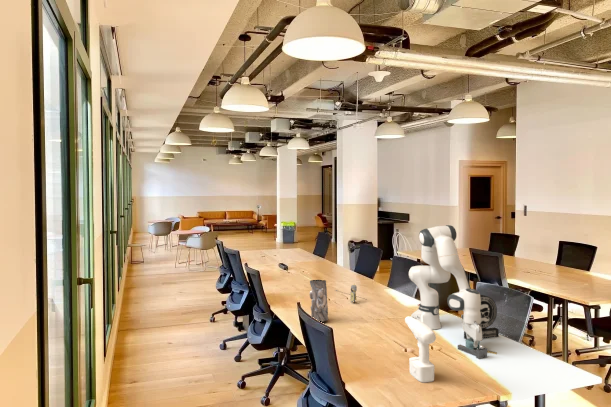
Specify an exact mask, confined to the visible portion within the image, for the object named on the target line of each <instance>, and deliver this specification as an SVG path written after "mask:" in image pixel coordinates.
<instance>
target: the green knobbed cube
mask: <svg viewBox="0 0 611 407" xmlns="http://www.w3.org/2000/svg"><path fill="white" fill-rule="evenodd" d="M473 343H474V339H473V338H470V339H465V346H466V347H468V348H471V349H474V346H473ZM477 348H478V349H480V341H479V342H478V347H477ZM477 348H476V349H477ZM474 350H475V349H474Z"/></svg>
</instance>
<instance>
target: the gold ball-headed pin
mask: <svg viewBox="0 0 611 407" xmlns="http://www.w3.org/2000/svg"><path fill="white" fill-rule="evenodd" d="M487 354H494V355H497V354H498V352H496V351H491V350H488V349H487Z"/></svg>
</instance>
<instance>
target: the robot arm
mask: <svg viewBox="0 0 611 407" xmlns="http://www.w3.org/2000/svg"><path fill="white" fill-rule="evenodd" d="M418 239H419V242H420V244H421V252H420V257H421V260H422V261H423V262H424V263H425V264H428V265H419V264H418V265H415V266H414V265H413V266H411V267H410V269H409V271H408V278H409V280H410V281H411V282H412V283H414V285H416V287H417V289H418V291H419V296H420V303H418V304H417V307H418V308H417V310H415V311H414V312H412V314H410V315H411V316H410V317H413V318H414V319H417V320H418V321H420V322H423V323H424V324H426V325H427V326H428V327H429V328H430V329H431V330H439V329H441V328H442V324H441V317H440V304H439V292H438V291H437V290H436V288H435V289H434V288H432V287H430V285H429V284H443V283H444V284H445V283H448V282H449V281H450V279H451V274H452V275H453V277H454V278H455V280H456V283H457V286H458V290H459V291H457V292H454V293H452V294H449V295H448V297H447V301H446V302H447V303H446V304H447V306H448V307H449V309H450V310H452V311H457V312H458V311H459V312H460V311H463V314H461V319H462V320H461V324H462V330H463V332H464V331H465V332H466V336H467V339H470V338H473V339H474V343H473V346H474V347H475V349H477V347H478V342H479V343H480V342H482V340H483V339H482V329H481V327H480V326H479V324H480V323H481V312H480V308H481V298H480V295H481V294H480V291H478V290H477V289H474V288H471V285H470V283H469V279H468V277H467V273H466V270H465V267H464V266H463V264H462V262H461V261H460V260H461V259H460V257H459V253H458V249H457V245H456V243H455V241H456V239H457V231H456V228H455V227H454V226H453V225H449V224H446V225H437V226H436V225H435V226H433V227H428V228H423V229H421V230H420V231H419V234H418Z"/></svg>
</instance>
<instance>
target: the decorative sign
mask: <svg viewBox="0 0 611 407" xmlns="http://www.w3.org/2000/svg"><path fill="white" fill-rule="evenodd" d="M480 298H481V308H480V312H481V323H480V324H479V326H480V327H481V329H482V340H483V339H489V338H490V339H491V338H499V337H500V336H499V335H500V334H499V333H500V332H499V328H497V327H491V326H492V325H493V323H494V322H495V321H496V319H497V314H498V307H497V304H496V302H495V301H494V300H493V298H491V297H490V296H487V295H484V294H480ZM463 339H465V340H466V339H467V336H466V332H465V331H463Z"/></svg>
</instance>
